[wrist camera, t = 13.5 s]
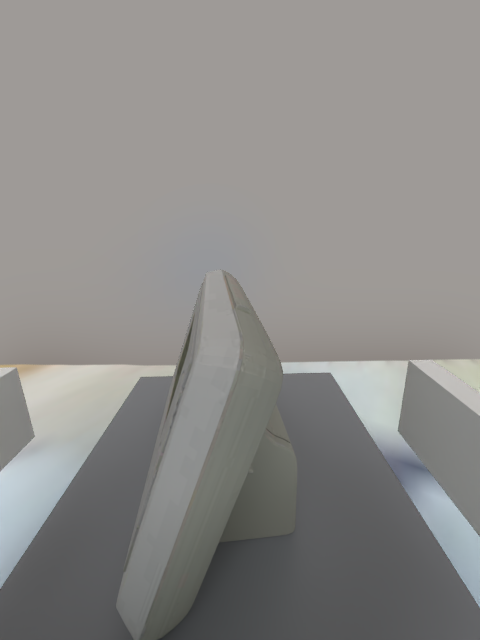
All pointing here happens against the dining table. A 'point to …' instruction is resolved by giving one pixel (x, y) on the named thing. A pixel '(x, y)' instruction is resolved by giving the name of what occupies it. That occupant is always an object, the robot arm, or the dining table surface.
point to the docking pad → (250, 543)
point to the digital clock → (209, 461)
